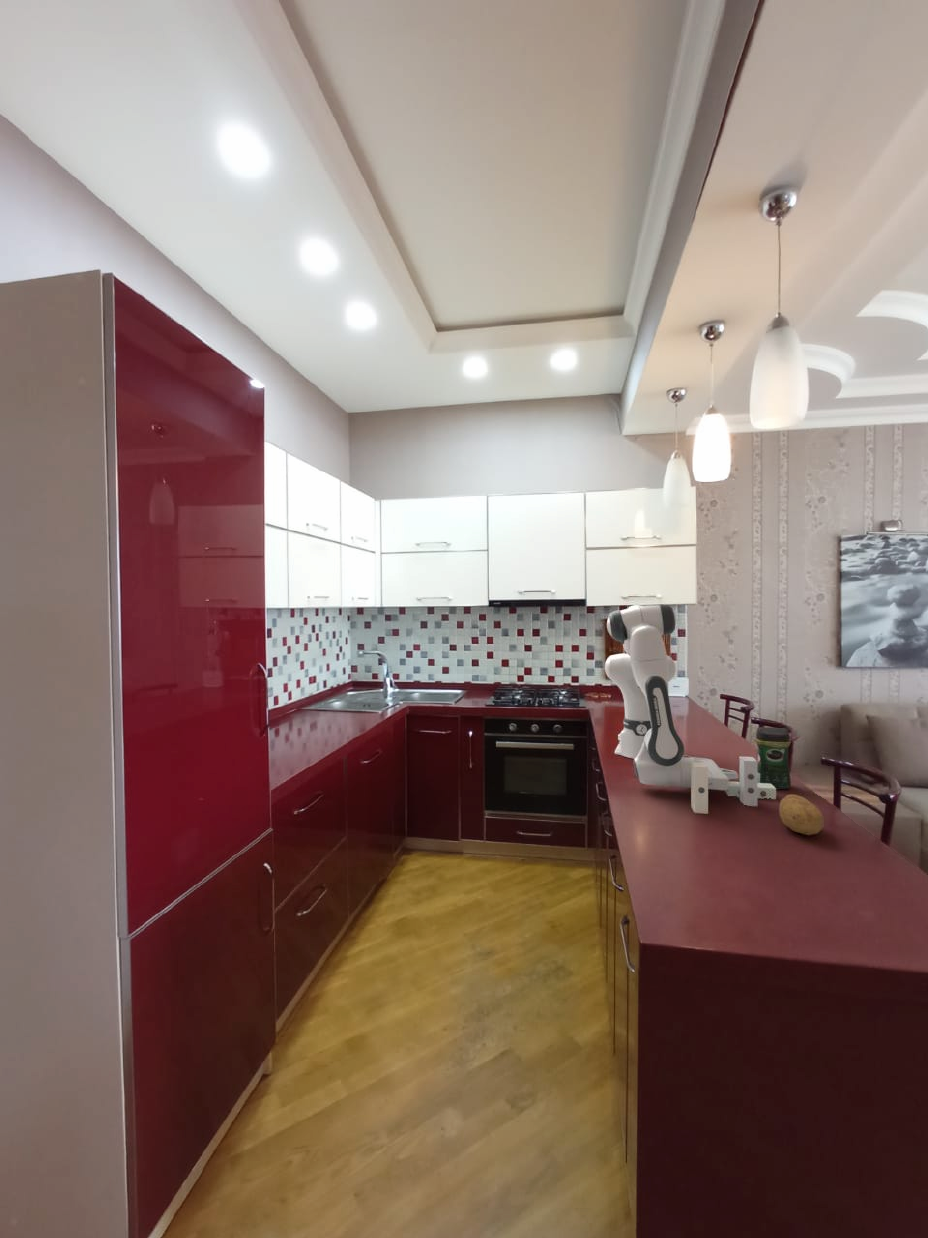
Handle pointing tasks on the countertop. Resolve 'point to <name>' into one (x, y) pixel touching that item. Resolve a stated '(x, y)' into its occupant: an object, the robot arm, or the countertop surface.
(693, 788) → the one-pip tile
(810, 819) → the potato
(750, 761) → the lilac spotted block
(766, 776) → the coffee jar
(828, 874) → the countertop surface
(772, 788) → the white block
